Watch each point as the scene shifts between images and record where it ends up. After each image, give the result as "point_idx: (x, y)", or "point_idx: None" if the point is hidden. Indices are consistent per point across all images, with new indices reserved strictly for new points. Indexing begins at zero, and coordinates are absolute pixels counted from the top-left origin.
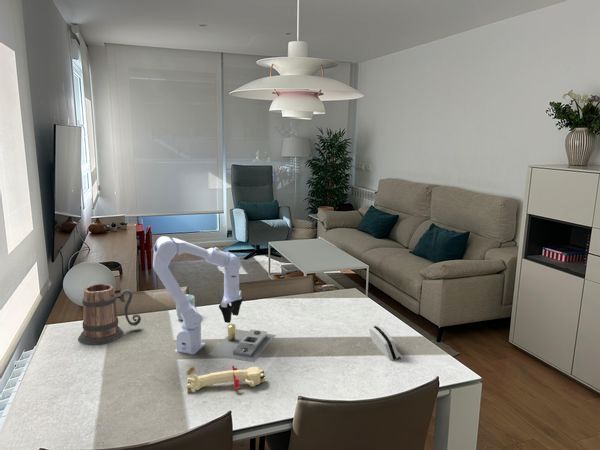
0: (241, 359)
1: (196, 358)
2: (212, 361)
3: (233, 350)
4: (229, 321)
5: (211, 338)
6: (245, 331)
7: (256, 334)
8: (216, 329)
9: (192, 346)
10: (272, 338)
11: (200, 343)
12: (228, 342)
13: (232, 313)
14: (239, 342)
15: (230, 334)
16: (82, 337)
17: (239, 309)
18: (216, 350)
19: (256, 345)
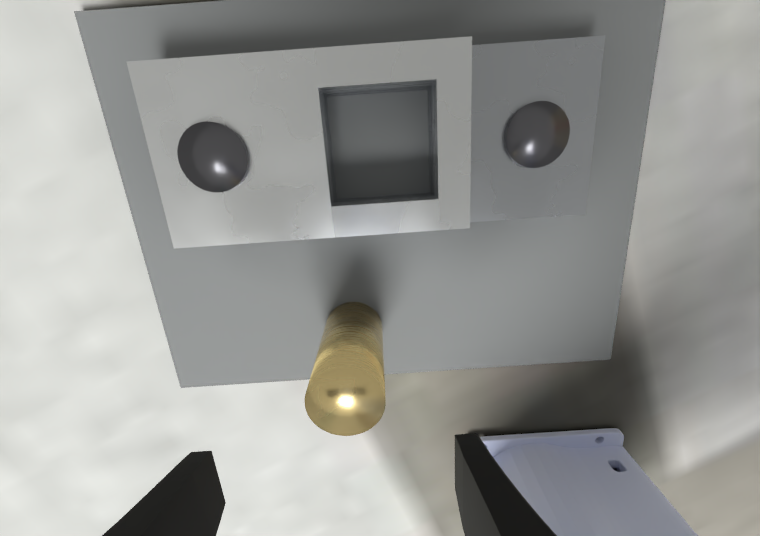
0: (639, 107)
1: (650, 396)
2: (673, 296)
3: (508, 237)
4: (487, 449)
5: (370, 446)
6: (171, 302)
7: (250, 147)
8: (239, 479)
9: (635, 481)
10: (159, 12)
11: (535, 463)
12: (399, 328)
13: (217, 526)
14: (469, 222)
15: (382, 352)
16: None
17: (120, 520)
18: (540, 341)
19: (467, 39)
